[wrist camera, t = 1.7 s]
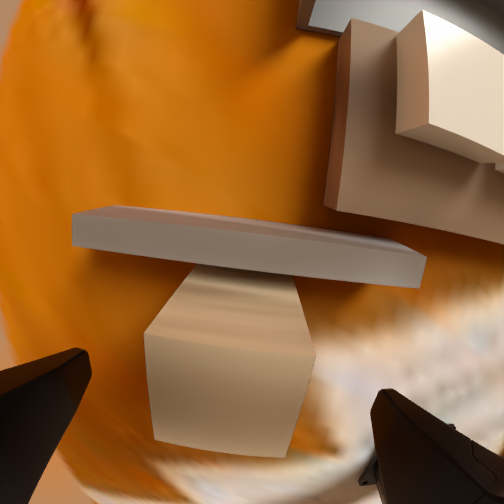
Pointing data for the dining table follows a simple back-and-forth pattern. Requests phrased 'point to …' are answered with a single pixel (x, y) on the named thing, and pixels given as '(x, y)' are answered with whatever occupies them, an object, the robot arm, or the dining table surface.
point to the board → (399, 151)
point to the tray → (405, 15)
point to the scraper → (237, 317)
